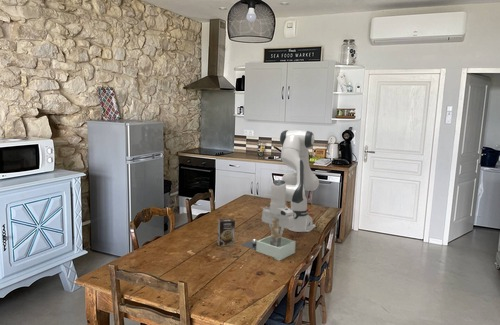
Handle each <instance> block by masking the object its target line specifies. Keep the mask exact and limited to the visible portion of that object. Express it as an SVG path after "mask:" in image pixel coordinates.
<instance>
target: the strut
mask: <svg viewBox="0 0 500 325" xmlns="http://www.w3.org/2000/svg"><path fill="white" fill-rule="evenodd" d="M280 230H281V227H280V226H279V220H278V219H274V218H272V227H271V228H270V236H271V241H270V245H272V246H276V247H278V246H280V245H281V237H283V234H279V231H280Z"/></svg>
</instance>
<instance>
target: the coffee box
mask: <svg viewBox="0 0 500 325" xmlns="http://www.w3.org/2000/svg"><path fill="white" fill-rule="evenodd" d="M217 222H218V224H217V245H218V247H232V246H235V230H236V229H235V228H236V227H235V226H236V220H235V219H234V218H233V217H231V218H230V217H229V218H218V220H217Z"/></svg>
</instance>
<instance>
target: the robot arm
mask: <svg viewBox="0 0 500 325" xmlns="http://www.w3.org/2000/svg"><path fill="white" fill-rule="evenodd" d="M279 142H280V144H281V147H282V148H281V152H280V160H281V162H282V163H283V164H284V165H285V166H288V168H291V169H293V170H294V171H296V172H286V173H284V174H283V175H282V178H281V180H280V179H276V180H273V181H272V184H271V187H270V188H271V190H270V203H269V206H266V205H265V206H263V207H262V214H261V221H262V223H265V224H268V226H269V228H270V229H271V227H272V218H274V219H278V220H279V226H280V227H281V230H280V231H279V234H282V235H283V232H284V230H285V229H287V230H288V231H291V232H295V233H298V232H299V233H310V232H311V231H313V230H314V229H315V228H316V224H315V223H313V218H312V217H311V216H310V215H309V213H308V212H310V211H311V209H310V208H308V198H307V197H306V191H308V192H309V191H310V192H311V191H316V190H317V189H318V188H319V186H320V180H319V178H318V177H317V175H315V173H313V171H312V169H311V167H310V160H309V159H310V157H309V155H310V153H309V152H310V151H309V150H310V149H309V148H311V147H313V145H314V143H315V135H314V133H313V132H312V131H309V130H301V129H300V130H299V129H298V130H283V131H282V132H281V133H280V136H279ZM286 202H289V203H290V207H288V206H287V204H286Z"/></svg>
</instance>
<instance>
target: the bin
mask: <svg viewBox="0 0 500 325" xmlns="http://www.w3.org/2000/svg"><path fill="white" fill-rule="evenodd" d="M270 241H271V235H268V236H266V237H264V238H261V239H259V240H257V246H256V250H255V251H256V252H257V253H260V254H263V255H266V256H268V257H272V259H273V260H275V261H282V260H284V259H286V258H288V257H290V256H291V255H293V254H296V240H293V239H290V238H286V237H283V236H282V237H281V245H280V246H278V247H276V246H272V245H270Z"/></svg>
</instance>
